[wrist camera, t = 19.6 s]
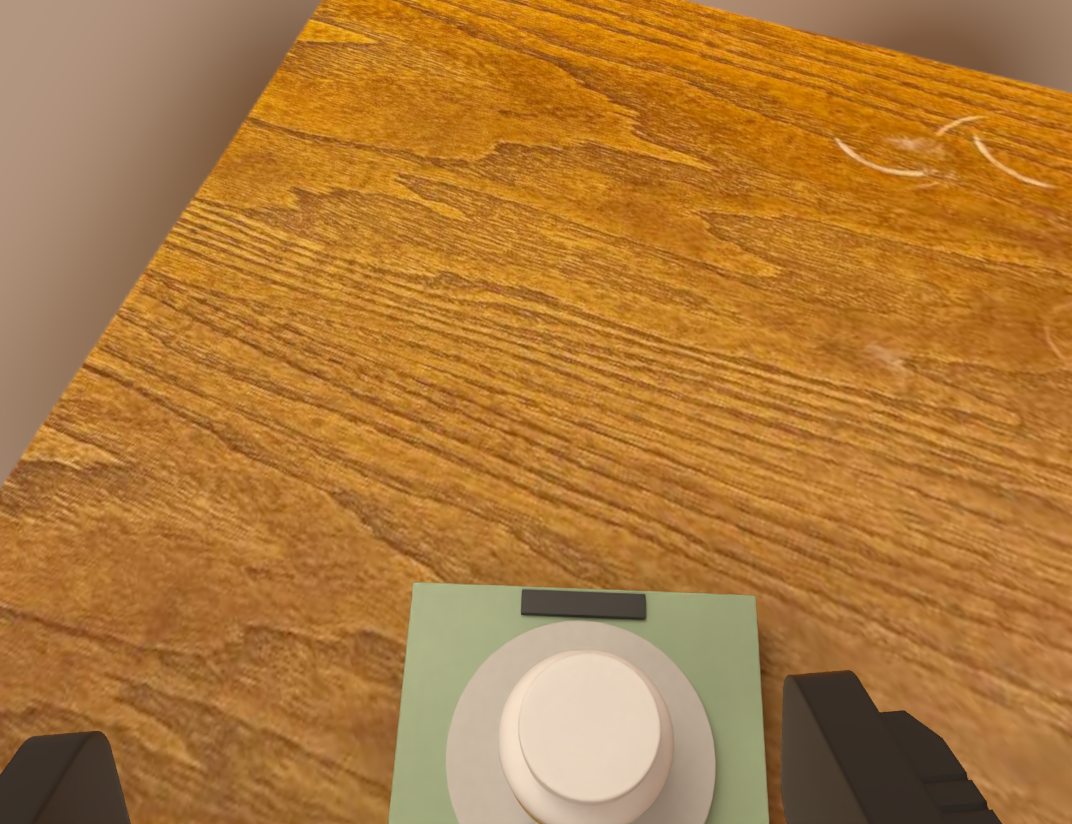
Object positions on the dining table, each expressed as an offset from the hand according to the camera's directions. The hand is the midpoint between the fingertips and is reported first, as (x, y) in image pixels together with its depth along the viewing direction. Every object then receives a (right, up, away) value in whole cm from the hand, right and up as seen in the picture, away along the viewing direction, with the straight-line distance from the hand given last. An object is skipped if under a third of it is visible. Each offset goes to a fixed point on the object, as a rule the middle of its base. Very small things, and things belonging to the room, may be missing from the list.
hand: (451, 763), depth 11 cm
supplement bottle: (+3, -9, +24) cm, 25 cm away
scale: (+3, -10, +27) cm, 29 cm away
